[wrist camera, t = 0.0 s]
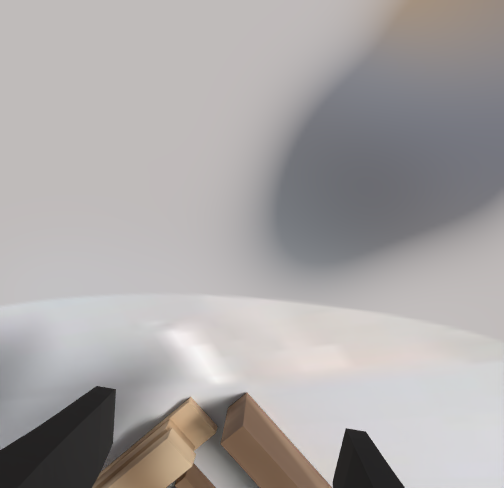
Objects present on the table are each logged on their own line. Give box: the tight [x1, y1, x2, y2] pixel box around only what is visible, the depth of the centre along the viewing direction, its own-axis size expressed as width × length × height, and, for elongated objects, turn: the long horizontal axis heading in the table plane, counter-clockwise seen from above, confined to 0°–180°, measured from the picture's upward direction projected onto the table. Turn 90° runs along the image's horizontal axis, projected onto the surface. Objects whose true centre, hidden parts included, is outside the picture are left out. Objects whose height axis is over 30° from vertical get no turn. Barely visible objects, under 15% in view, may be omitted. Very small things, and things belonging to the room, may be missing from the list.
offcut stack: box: [92, 397, 218, 488], centre depth 22 cm, size 11×2×3 cm, turn 131°
